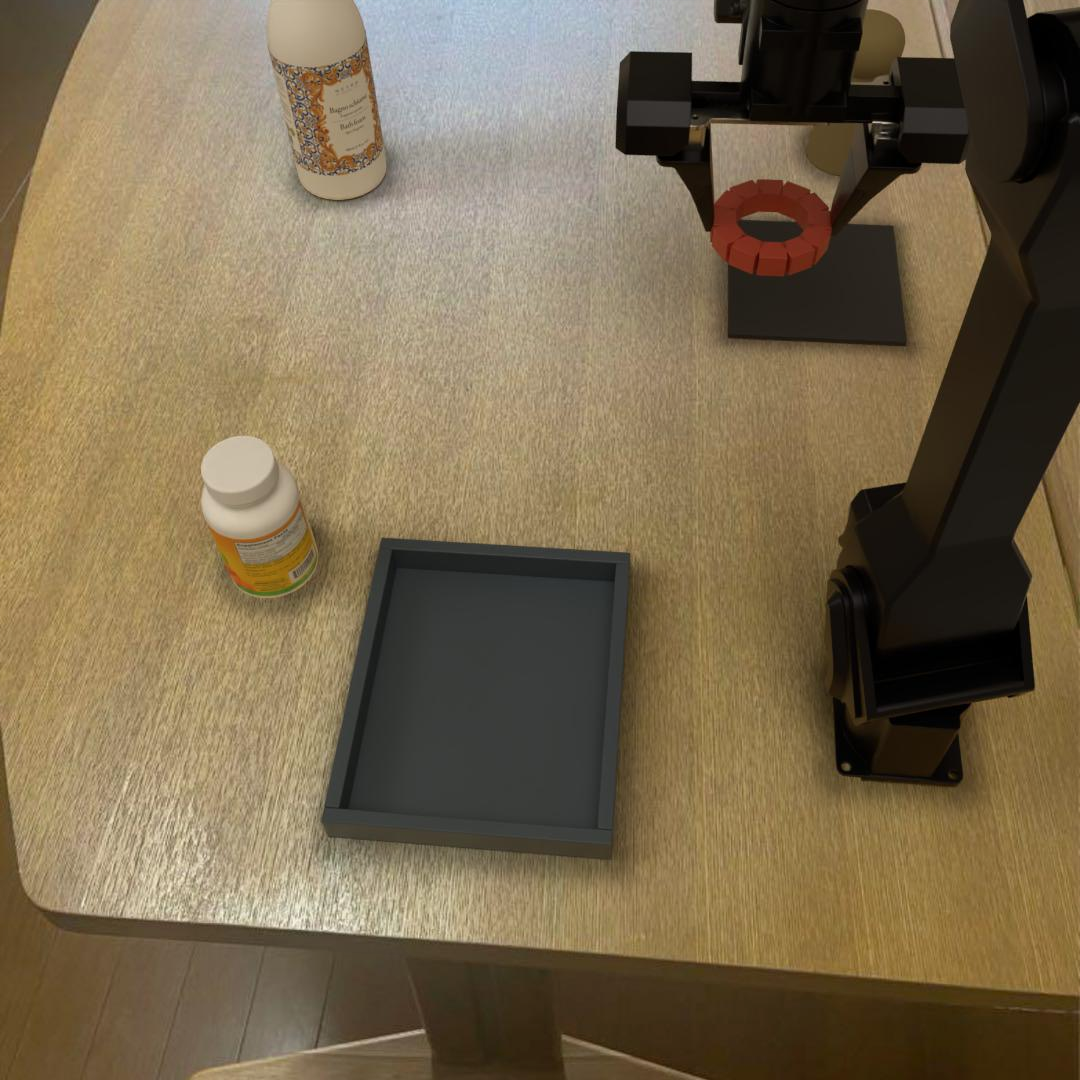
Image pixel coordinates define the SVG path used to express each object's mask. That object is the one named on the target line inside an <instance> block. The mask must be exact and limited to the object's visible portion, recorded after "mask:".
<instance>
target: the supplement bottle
mask: <svg viewBox="0 0 1080 1080" xmlns="http://www.w3.org/2000/svg"><path fill="white" fill-rule="evenodd" d="M200 473H201V475H200V476H201V478H202V481H203V483H204V487H203V489H202V493H201V498H200V506H201V511H202V515H203V517H204V520H205V523H206V525H207V527H208V530H209V532H210V534H211V536H212V538H213V541H214V543H215V545H216V548H217V550H218V552H219V555H220V556H221V559H222V561H223V564H224V566H225V568H226V570H227V573H228V574H229V577H230V579H231V580H232V582H233V584H234V585H235V587H236V588H237V589H239V591H240V592H243V593H244V594H245V595H248V596H250V597H254V598H259V599H275V598H280V597H284V596H287V595H291V594H292V593H293V592H295V591H298V590H299V589H300V588H301V587H303V586H304V585H305V584H307V583H308V582H309V580H310V579H311V578H312V576H313V575H314V573H315V572H316V569H317V567H318V564H319V549H318V545H317V542H316V539H315V536H314V533H313V530H312V526H311V524H310V520H309V517H308V514H307V511H306V508H305V505H304V502H303V497H302V495H301V492H300V489H299V486H298V483H297V481H296V478H295V477H294V475H293V473H292V472H291V471H290V470H289V469H288V468H287V467H286V466H285V465H284V464H282V463H281V462H279V461H278V460H277V459H276V455H275V453H274V451H273V449H272V447H271V446H270V445H269V444H268V443H267V442H265V440H262V439H261V438H259V437H256V436H251V435H235V436H230V437H227V438H224V439H223V440H221V441H219V442H217V443H216V444H215V445H213V446H212V447H210V449H209V450H208V451H207V452H206V454H205V455H204V457H203V459H202V461H201V465H200Z"/></svg>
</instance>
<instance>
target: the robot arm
mask: <svg viewBox="0 0 1080 1080" xmlns="http://www.w3.org/2000/svg"><path fill="white" fill-rule="evenodd" d="M868 5H869V0H713V19H714V22H715V23H716V24H730V25H731V24H734V25H735V24H737V25H741V27H740V34H739V44H738V51H737V53H738V54H737V55H738V57H737V59H738V65H739V66H741V67H742V68H741V73H740V81H724V80H723V81H722V80H721V81H720V80H693V52H686V51H685V52H684V51H683V52H681V51H640V50H637V51H636V50H631V51H629V52H628V53H627V54H626V55H625V56H624V57H623V58H622V60H621V61H619V68H618V69H619V70H618V83H617V84H618V85H617V99H616V115H615V116H616V117H615V143H614V145H615V146H614V147H615V149H616V150H617V151H618V152H620V153H622V154H623V155H624V156H648V157H655V161H656V164H657V165H659V166H660V167H663V168H672V169H673V170H675V172H676V174H677V175H678V176H679V178H680V179H681V181H682V183H683V184H684V185H685V187H686V189H687V190H688V192H689V194H690V196H691V198H692V200H693V202H694V203H693V204H694V205H695V208H696V210H697V214H698V216H699V218H700V221H701V223H702V226H703V229H704V232H706V233H710V232H711V229H712V226H713V224H714V203H715V185H714V184H715V183H714V182H715V181H714V163H713V162H714V161H713V144H712V143H713V142H712V124H718V125H719V124H722V125H723V124H724V125H726V124H727V125H730V124H731V125H760V126H761V125H764V126H799V127H800V126H801V127H802V126H803V127H804V126H805V127H813V126H828V125H829V124H830V123H856V124H855V130H854V135H853V140H852V143H851V146H850V149H849V152H848V156H847V159H846V162H845V165H844V168H843V171H842V174H841V176H839V180H838V183H837V186H836V189H835V192H834V195H833V198H832V202H831V206H830V211H831V212H830V214H831V225H832V232H831V236H836V235H837V234H838V233H839V232H840V231H841V230H842V229H843V228H844V227H845V226H846V225H847V224H850V222H851V221H852V220H853V219H854V218H855V217H856V216H857V214H858V213H859V212H861V210H862V209H863V208H864V207H865V206H866V205H867V204H868V203H869V202H870V201H872V199H873V198H875V197H876V196H878V194H879V193H881V192H882V191H883V190H885V189H886V188H887V187H888V186H889V185H891V184H892V183H894V181H896V180H897V179H898V178H900V177H901V176H903V175H914V174H917V173H918V172H919V171H920V170H921V168H922V165H923V164H935V165H936V164H938V165H939V164H941V165H942V164H943V165H960V164H962V163H963V162H964V161H965V163H964V170H965V174H966V177H967V179H968V181H969V184H970V186H971V189H972V192H973V193H974V196H975V199H976V201H977V203H978V205H979V208H980V210H981V213H982V215H983V217H984V220H985V222H986V225H987V227H988V229H989V231H990V239H989V244H988V248H987V251H986V253H985V257H984V259H983V263H982V265H981V268H980V271H979V274H978V277H977V279H976V282H975V284H974V288H973V291H972V294H971V297H970V298H969V302H968V305H967V308H966V310H965V314H964V317H963V319H962V322H961V325H960V328H959V331H958V333H957V336H956V339H955V341H954V345H953V348H952V351H951V354H950V357H949V360H948V362H947V365H946V368H945V372H944V374H943V376H942V379H941V382H940V385H939V388H938V391H937V394H936V396H935V399H934V402H933V405H932V408H931V411H930V414H929V415H928V419H927V422H926V425H925V428H924V431H923V433H922V436H921V439H920V442H919V445H918V448H917V450H916V454H915V457H914V459H913V462H912V464H911V467H910V471H909V472H908V473H909V474H908V476H907V479H906V481H905V482H898V483H893V484H886V485H881V486H880V485H879V486H875V487H869V488H868V487H867V488H863V489H860V490H858V492H857V493H856V495H855V496H854V497H853V498H852V500H851V501H850V504H849V507H848V508H849V509H848V514H847V519H846V520H847V521H846V525H845V528H844V530H843V532H842V533H841V534H840V535H839V536H838V538H837V542H838V545H839V546H840V547H841V550H840V551H839V555H838V558H837V560H836V566H835V569H833V570H832V571H831V573H830V575H829V578H828V579H827V583H826V599H825V603H824V604H825V617H824V631H823V632H824V634H823V642H824V646H825V650H826V651H825V652H826V654H827V657H828V668H827V673H826V677H825V679H824V682H823V684H824V687H825V689H826V692H827V694H828V695H830V696H832V717H833V732H834V733H833V734H834V735H833V736H834V753H835V754H834V756H835V769H836V771H837V773H838V774H839V775H841V776H842V777H848V778H858V779H859V778H860V780H861V781H871V782H873V781H874V782H886V783H901V784H913V785H927V786H941V787H957V786H959V785H960V784H961V782H962V781H963V779H964V769H963V761H962V753H961V743H960V737H959V731H960V729H961V724H962V723H963V720H964V719H965V717H966V715H967V714H968V711H969V710H970V709H971V706H972V705H973V704H975V703H980V702H985V701H991V700H997V699H1003V698H1008V699H1011V698H1012V699H1013V698H1017V697H1021V696H1024V695H1027V694H1029V693H1032V692H1034V691H1035V689H1036V681H1035V670H1034V660H1033V659H1034V658H1033V649H1032V638H1031V636H1032V635H1031V625H1030V615H1029V603H1028V602H1029V601H1028V593H1029V590H1030V587H1031V584H1032V580H1033V573H1032V571H1031V569H1030V567H1029V566H1028V564H1027V562H1026V559H1025V557H1024V556H1023V554H1022V552H1021V551H1020V548H1019V546H1018V544H1017V543H1016V541H1015V537H1016V533H1017V531H1018V529H1019V526H1020V524H1021V522H1022V520H1023V518H1024V516H1025V514H1026V512H1027V510H1028V508H1029V505H1030V504H1031V502H1032V500H1033V498H1034V496H1035V494H1036V492H1037V490H1038V488H1039V487H1040V485H1041V482H1042V480H1043V478H1044V475H1046V472H1047V470H1048V468H1049V466H1050V464H1051V462H1052V460H1053V459H1054V458H1053V457H1054V456H1055V454H1056V452H1057V450H1058V448H1059V446H1060V444H1061V442H1062V440H1063V438H1064V437H1065V434H1066V432H1067V429H1068V428H1069V425H1070V423H1071V422H1072V419H1073V418H1074V415H1075V414H1076V411H1077V409H1078V408H1079V405H1080V6H1076V7H1069V8H1062V9H1061V8H1060V9H1055V10H1054V9H1053V10H1047V11H1039V12H1036V13H1033V14H1032V15H1029V16H1028V15H1027V11H1026V7H1025V2H1024V0H958V2H957V5H956V7H955V12H954V14H953V17H952V19H951V22H950V28H949V39H950V45H951V49H952V54H953V57H921V56H920V57H918V56H916V57H915V56H913V57H912V56H901V57H897V58H896V59H895V60H894V61H893V62H892V64H891V68H890V72H889V75H882V76H878V77H876V78H875V79H874V80H873V82H851V81H852V76H853V71H854V67H855V62H856V57H857V53H858V51H859V48H860V43H861V39H862V34H863V30H862V29H863V24H864V20H865V15H866V10H867V9H868ZM843 764H847V765H848V766H849V767H850V769H849V770H845V769H844V768H843V767H842V765H843ZM949 774H952V775H954V776H955V778H952V777H951V776H950V775H949Z"/></svg>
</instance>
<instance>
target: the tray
mask: <svg viewBox="0 0 1080 1080" xmlns="http://www.w3.org/2000/svg"><path fill="white" fill-rule="evenodd" d="M630 571H631V553H630V552H627V551H611V550H609V551H608V550H595V549H594V550H593V549H574V548H562V547H561V548H559V547H545V546H544V547H543V546H542V547H541V546H527V545H512V544H511V545H509V544H496V543H495V544H494V543H492V544H491V543H479V542H477V543H476V542H461V541H460V542H459V541H447V540H431V539H430V540H429V539H428V540H427V539H413V538H398V537H397V538H396V537H381V538H380V542H379V547H378V552H377V556H376V561H375V566H374V571H373V575H372V580H371V585H370V589H369V594H368V598H367V603H366V608H365V612H364V617H363V623H362V627H361V631H360V636H359V641H358V646H357V650H356V655H355V659H354V664H353V669H352V674H351V679H350V682H349V688H348V693H347V697H346V702H345V706H344V712H343V716H342V721H341V724H340V725H341V726H340V729H339V735H338V738H337V744H336V749H335V753H334V758H333V763H332V767H331V772H330V777H329V782H328V787H327V791H326V796H325V800H324V805H323V806H324V808H323V811H322V814H321V818H320V822H321V824H322V826H323V828H324V830H325V833H326V835H327V837H328V838H334V839H336V838H337V839H345V840H347V839H349V840H357V841H369V842H370V841H372V842H384V843H397V844H407V845H421V846H430V847H431V846H433V847H445V848H456V849H468V850H469V849H470V850H481V851H494V852H505V853H506V852H507V853H517V854H519V853H520V854H530V855H531V854H532V855H544V856H554V857H566V858H567V857H569V858H577V859H579V858H581V859H590V860H591V859H592V860H593V859H594V860H604V861H611V860H612V858H613V857H612V856H613V844H614V843H613V841H614V827H615V826H614V825H615V810H616V794H617V780H618V776H617V775H618V762H619V747H620V745H619V744H620V731H621V716H622V715H621V713H622V698H623V683H624V682H623V681H624V670H625V669H624V668H625V654H626V653H625V651H626V636H627V619H628V606H629V605H628V603H629V590H630V589H629V588H630V573H631V572H630Z"/></svg>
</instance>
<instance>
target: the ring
mask: <svg viewBox="0 0 1080 1080" xmlns="http://www.w3.org/2000/svg"><path fill="white" fill-rule="evenodd" d="M830 212H831V210H830V206H828V205H827V203H826V202H825V201H824V200H823V199H821V197H820V196H819V195H818V194H817V193H816V192H814V191H813V192H812V191H811V189H810V188H807V187H805V186H802V185H799V184H797V183H795V182H792V181H790V180H787V181H786V182H785V183H784V180H783V179H772V178H771V179H766V178H757V179H756V181H754V180H753V179H751V180H748V181H745V182H742V183H739V184H735V185H733V186H730V187H729V189H726V190H725V191H724V192H723V193H722V194H721V195H720V196H719V198H717V200H716V201H714V224H713V226H712V229H711V232H709V242H710V243H711V247H712V248H713V250H714V251H715V253H717V255H719V257H720V258H721V259H722V260H723V261H724V262H728V261H729V265H731V266H733V267H736V268H738V269H740V270H743V271H745V272H748V273H750V274H753V273H754V271H755V270H757V275H758V276H784V275H785V272H786V273H787V274H788V275H792V274H794V273H797V272H800V271H802V270H805V269H808V268H811V267H812V264H814V265H815V264H816V263H817V262H818V261H819V259H820V258H821V257H822V256H823V254H824V253H825V252H826V251H827V248H828V245H829V241H830V236H831V232H832V225H831V214H830ZM757 213H777V214H780V215H782V216H784V217H787V218H790V219H793V220H794V222H797V223H798V225H799V226H800V227H801V228H802V229H803V230H804V231H803V232H802V234H801V235H800V236H799V237H796V238H793V239H791V240H788V241H785V242H763V241H760V240H758V239H756V238H753V237H751V236H748V235H746V234H745V233H744V232H743V231H742V229H741V228H740V227H739V226H738V225H737V223H738V222H739V220H742V219H743V218H745V217H748V216H751V215H754V214H757Z"/></svg>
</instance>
